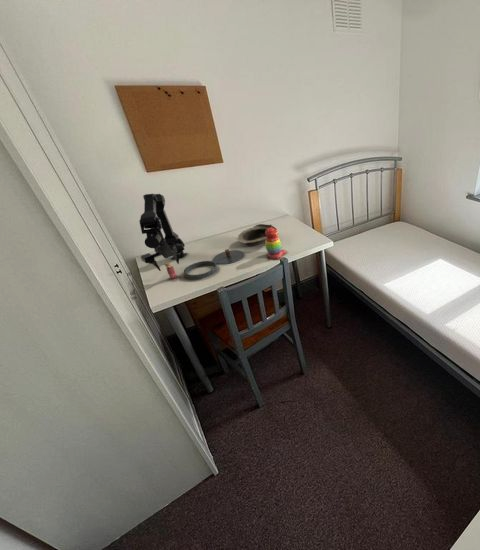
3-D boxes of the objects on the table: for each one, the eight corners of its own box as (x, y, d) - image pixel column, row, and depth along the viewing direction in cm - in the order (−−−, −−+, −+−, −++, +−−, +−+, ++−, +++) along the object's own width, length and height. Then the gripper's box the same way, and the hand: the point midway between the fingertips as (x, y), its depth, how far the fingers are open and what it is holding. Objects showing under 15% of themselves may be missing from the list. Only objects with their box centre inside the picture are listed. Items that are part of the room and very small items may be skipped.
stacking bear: (279, 259, 176) (274, 232, 166) (264, 258, 177) (258, 231, 168) (287, 251, 185) (282, 225, 175) (272, 250, 186) (267, 224, 177)
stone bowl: (283, 236, 205) (281, 224, 200) (266, 254, 186) (263, 241, 180) (252, 232, 210) (249, 221, 205) (232, 250, 190) (228, 237, 185)
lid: (219, 252, 185) (216, 244, 182) (247, 251, 186) (245, 243, 183) (209, 266, 170) (206, 257, 167) (239, 264, 171) (237, 255, 168)
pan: (193, 266, 170) (191, 261, 169) (222, 264, 172) (220, 260, 170) (180, 281, 156) (178, 276, 155) (212, 279, 157) (210, 274, 156)
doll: (172, 276, 160) (165, 260, 155) (179, 276, 161) (173, 260, 155) (168, 280, 157) (161, 264, 152) (176, 280, 157) (169, 264, 152)
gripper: (144, 251, 136) (157, 279, 144) (184, 237, 149) (194, 264, 157) (134, 245, 142) (147, 273, 150) (173, 232, 155) (183, 258, 163)
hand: (169, 267), depth 155 cm, fingers open, 9 cm apart
